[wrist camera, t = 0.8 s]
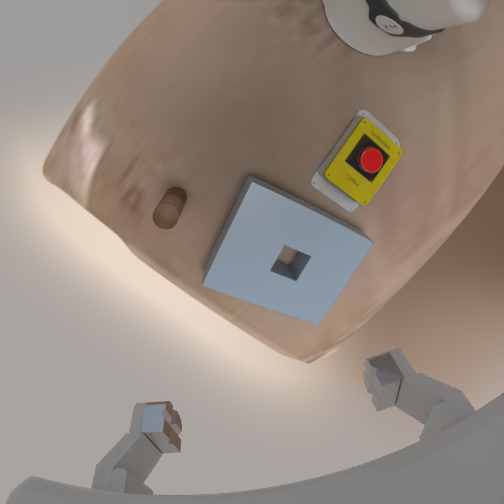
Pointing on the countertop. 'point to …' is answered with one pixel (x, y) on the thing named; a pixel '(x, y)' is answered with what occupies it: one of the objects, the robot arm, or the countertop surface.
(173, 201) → the peg
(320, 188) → the emergency button
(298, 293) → the socket block
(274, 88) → the countertop surface
